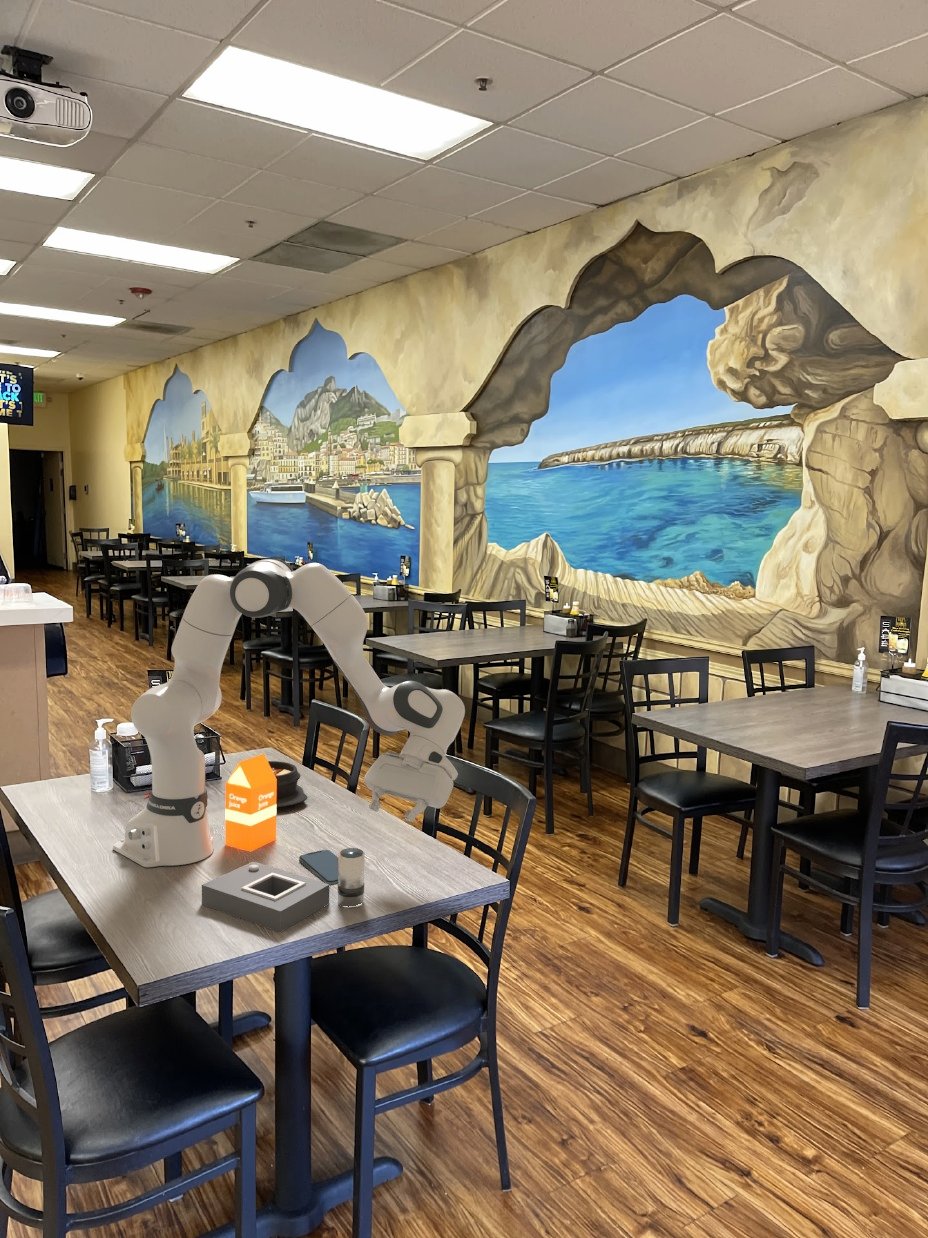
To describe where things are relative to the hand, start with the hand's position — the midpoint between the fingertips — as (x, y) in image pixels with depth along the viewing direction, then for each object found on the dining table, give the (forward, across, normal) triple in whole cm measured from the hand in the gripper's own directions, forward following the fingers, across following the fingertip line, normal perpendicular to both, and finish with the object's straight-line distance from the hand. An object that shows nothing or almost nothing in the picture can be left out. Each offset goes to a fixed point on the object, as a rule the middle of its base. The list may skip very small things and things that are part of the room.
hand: (390, 815), depth 178 cm
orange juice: (+13, -39, +8) cm, 42 cm away
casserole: (-4, -59, +25) cm, 64 cm away
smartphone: (+13, -15, +9) cm, 21 cm away
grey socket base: (+26, -12, -6) cm, 30 cm away
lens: (+19, 0, +2) cm, 19 cm away
